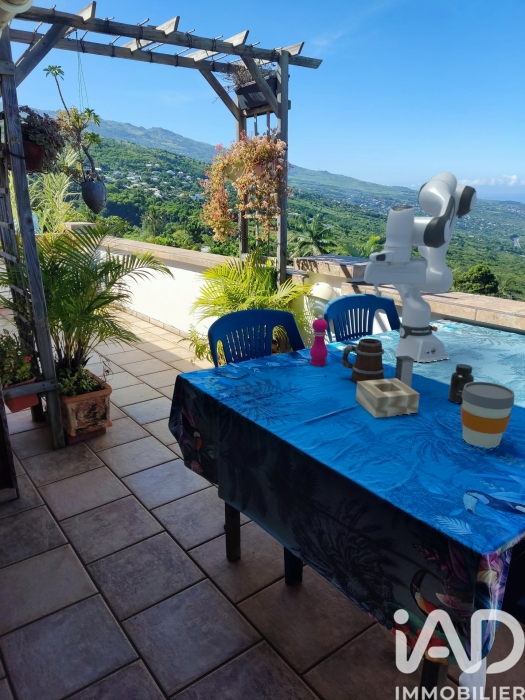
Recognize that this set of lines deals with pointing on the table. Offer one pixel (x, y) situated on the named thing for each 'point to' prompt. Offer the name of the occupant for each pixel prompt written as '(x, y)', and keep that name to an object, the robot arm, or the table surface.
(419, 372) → the table surface
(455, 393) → the supplement bottle
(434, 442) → the table surface
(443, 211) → the robot arm
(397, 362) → the grey rectangular bar
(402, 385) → the well block
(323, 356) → the pepper mill
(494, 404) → the reusable coffee cup
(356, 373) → the mug
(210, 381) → the table surface
